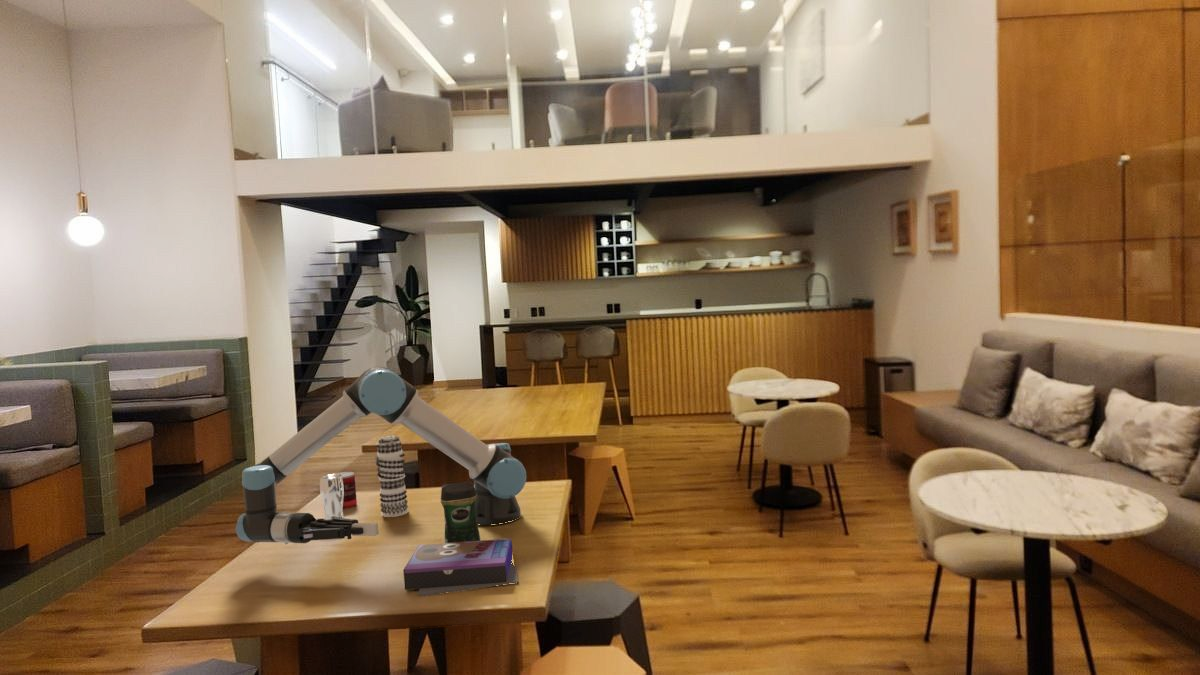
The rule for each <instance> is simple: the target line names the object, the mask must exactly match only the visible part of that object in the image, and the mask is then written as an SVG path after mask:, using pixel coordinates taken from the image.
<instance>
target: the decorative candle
mask: <svg viewBox="0 0 1200 675" xmlns="http://www.w3.org/2000/svg"><path fill="white" fill-rule="evenodd" d="M402 441H403V440H402V439H400V437H399V436H397V435H386V436H383V437H380V438H379V439H378V441H377V442H376V443H375V444H376V445H377V447H376V448H377V449H376V450H377V452H376V453H377V456H376V457H375V461H376V463H375V465H376V466H377V468H376V471H377V476H378V481H379V483H380V488H379V490H380V491H379V492H380V493H379V497H380V498H379V501H380V502H381V503H380V505H379V506H380V507H381V508H380V512H381V516H382V517H383V516H384V517H383V518H395V517H400V516H404V515H406V514H408V512H409V510H408V509H409V508H408V507H409V506H408V499H407V498H408V495H407V490H406V484H405V477H406V474H405V473H406V471H405V470H404V468H405V467H406V464H404V463H405V462H406V460H405V459H403V458H404V457H405V456H406V454H405V453H403V449H402Z"/></svg>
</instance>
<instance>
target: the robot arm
mask: <svg viewBox="0 0 1200 675" xmlns="http://www.w3.org/2000/svg"><path fill="white" fill-rule="evenodd" d="M371 413H373V414H375V415H378V416H379V417H380V418H382V419H384V420H385V421H386V422H388V423H389V424H391V425H394V424H401V425H403V427H405V428H407V429H408V430H410V431H411V432H413V433H414V434H415V435H417V436H418V437H419V438H421V439H422V440H424V441H426V442H427V443H429V444H430V445H431V446H433V447H434V448H436V449H438V450H439V451H440V452H442V453H443V454H445V455H446V456H448V457H449V458H451V459H452V460H453V461H455V462H456V463H458V464H459V465H460V466H462V467H464V468H465V469H467V470H468V473H469V474H468V475H469V478H470V479H472V480H473V484H474V487H475V491H476V502H475V512H476V519H477V524H480V525H479V526H482V525H491V524H499V523H505V522H508V521H512V520H515V519H517V518H519V517H520V515H521V507H520V505H519V501H518V500H517V497H516V496H518V494H520V493H521V492H522V491H523V489H524V487H525V485H526V482H527V471H526V468H525V466H524V465H523V463H522V461H520V460H519V459H517V458H515V457H514V456H513V455H512V454H511V453H512V449H511V445H510V444H509V442H508V443H507V442H501V443H499V442H498V443H497V442H496V443H490V444H489V443H488V444H486V443H484V442H483V440H481V439H478V438H477V437H476V436H474V435H473V434H471V433H470V432H469V431H467V430H466V429H465V428H463V427H461V426H460V425H459V424H457V422H455V421H453V420H452V419H451V418H449V417H447V416H446V415H445V414H443V413H442V412H441V411H439V410H438V409H436V408H435V407H433V406H432V405H430V404H429V403H428V402H426V401H425V400H423V399H422V398H421V397H419V391H418V388H416V387H415V386H413V385H412V384H411V383H409V382H408V381H406V380H405V379H404V378H402V377H401V376H400V375H399V374H398V373H396V372H394V371H392V370H391V369H389V368H388V367H384V366H374V367H370V368H368V369H366V370H365V371H364V372H362V373H361V374H360V375H359V377H358V378H356V379H355V381H354V382H352V383H351V385H349V386H348V387H347V388H346V389H344V390H343V392H342V396H341V397H340V398H339V399H338V400H336V401H335V402H334V403H333V404H331V405H330V406H329V407H327V408H326V409H325V410H324V411H323V412H321V413H320V414H318V416H317V417H316V418H313V420H312V421H311V422H309V423H308V424H306V425H305V426H304V427H303V428H302V429H301V430H299V431H298V432H297V433H296V434H295V433H294V435H293V436H292V437H290V438H289V439H288V440H287V441H285V442H284V443H283V444H282V445H281V446H279V447H278V448H277V449H275V450H274V451H273V452H272V453H271V454H269V455H268V456H267V457H265V459H262V461H261V462H259V463H256V464H255V465H254V466H250V467H247V468H244V469H243V470H242V471H241V472H242V473H241V486H242V493H243V501H244V513H242V514H241V515H240V516H239V517H238V519H237V521H236V522H237V524H236V525H235V532H236V535H237V537H238V538H239V539H240V540H242V541H243V542H250V543H251V542H253V543H283V544H284V545H288V544H289V543H293V544H308V543H309V542H311V541H321V540H340V539H345V538H346V537H347V540H351V539H352V536H354V537H355V536H357V537H358V536H359V537H360V536H361V537H377V536H378V535H379V534H380V531H379V523H378V522H377V523H375V522H373V523H372V522H371V523H370V522H368V523H365V522H364V523H363V522H359V520H358V519H354V518H353V519H352V518H345V517H344V518H338V517H336V516H332V517H331V520H325V518H316V517H315V516H314V515H313V514H312V513H309V512H278V511H277V510H278V507H277V505H278V504H277V497H276V496H277V495H276V494H277V493H276V486H277V485H279V483H281V482H282V481H283V480H284V479H286V478H287V477H288V476H289V475H290V474H292V473H293V472H294V471H295V470H296V469H298V468H299V467H300V466H302V465H303V464H304V463H305V462H306V461H308V459H310V458H311V457H312V456H313V455H315V454H316V453H317V452H318V451H320V450H321V449H322V448H324V447H325V446H326V445H327V444H328V443H330V442H331V441H332V440H333V439H335V438H336V437H337V436H338V435H339V434H341V433H342V432H343V431H345V429H347V428H348V427H350V426H351V425H352V424H354V423H355V421H356V420H358V419H359V418H360V417H361V418H362V417H368V416H369V415H370V414H371ZM520 518H521V517H520ZM520 518H519V519H520ZM517 520H518V519H517Z"/></svg>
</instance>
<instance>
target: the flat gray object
mask: <svg viewBox="0 0 1200 675" xmlns="http://www.w3.org/2000/svg"><path fill="white" fill-rule="evenodd" d="M515 562H516V561H515ZM515 562H514V563H515ZM511 563H512V561H511ZM515 564H516V563H515ZM516 582H518V583H519V578H518V573H517V567H516V565H515V566H514V565H513V563H512V564H510V568H509V572H508V577H507V581H506V582H501V583H488V584H474V585H461V586H448V587H435V588H421V589H418V593H417V594H418V597H419V596H421V597H427V596H426V595H429V596H434V595H433V594H437V595H441V594H440V593H444V594H447V593H446V592H452V593H455V592H454V591H460V592H463V591H462V590H467V591H472V590H471V589H475V590H480V589H479V588H483V589H485V588H484V587H490V588H492V587H491V586H496V585H503V584H509V583H516Z"/></svg>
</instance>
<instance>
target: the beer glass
mask: <svg viewBox="0 0 1200 675" xmlns="http://www.w3.org/2000/svg"><path fill="white" fill-rule="evenodd" d="M319 492H320V499H321V502H322V506H323V509H324V514H325V516H324V519H325V520H331V517H332V516H336V517H338V518H345V516H344V515H345V514H344V511H343V510H344V509H343V498H344V486H343V480H342V475H341V474H336V473H332V474H331V473H330V474H326V475H322V476H321V477H319Z"/></svg>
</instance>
